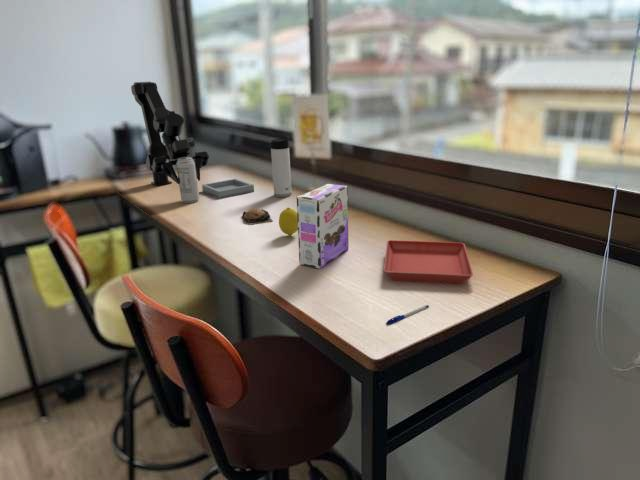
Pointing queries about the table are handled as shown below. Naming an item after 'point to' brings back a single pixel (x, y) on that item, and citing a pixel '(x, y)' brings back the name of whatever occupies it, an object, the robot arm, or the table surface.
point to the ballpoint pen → (405, 315)
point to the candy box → (322, 225)
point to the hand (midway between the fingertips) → (189, 181)
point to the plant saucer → (427, 261)
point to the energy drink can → (187, 179)
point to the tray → (227, 188)
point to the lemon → (288, 221)
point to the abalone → (256, 216)
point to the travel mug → (281, 167)
